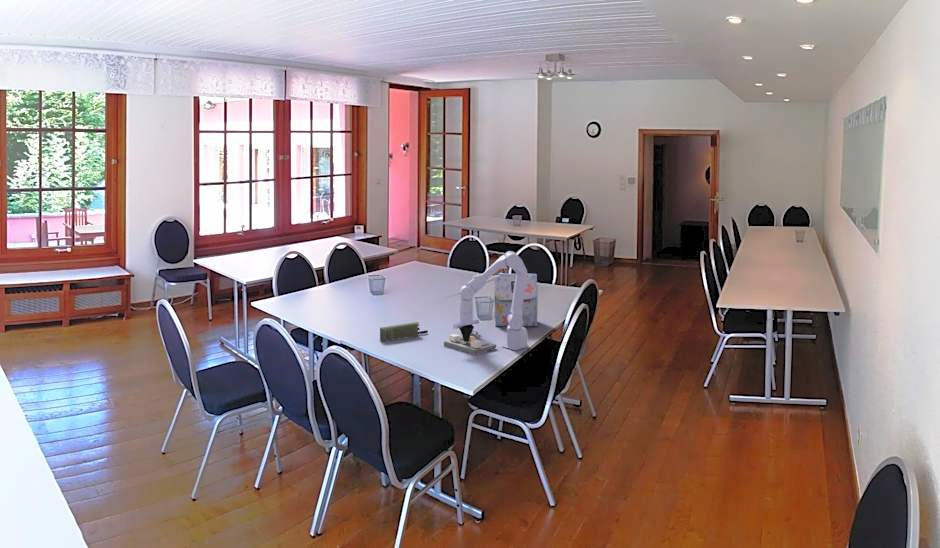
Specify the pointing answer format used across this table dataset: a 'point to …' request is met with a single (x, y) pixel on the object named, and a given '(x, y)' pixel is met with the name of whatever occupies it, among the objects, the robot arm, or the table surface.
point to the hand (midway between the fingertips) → (466, 341)
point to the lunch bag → (505, 297)
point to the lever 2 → (475, 344)
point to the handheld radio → (400, 331)
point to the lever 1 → (454, 338)
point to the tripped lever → (471, 339)
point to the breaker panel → (469, 346)
